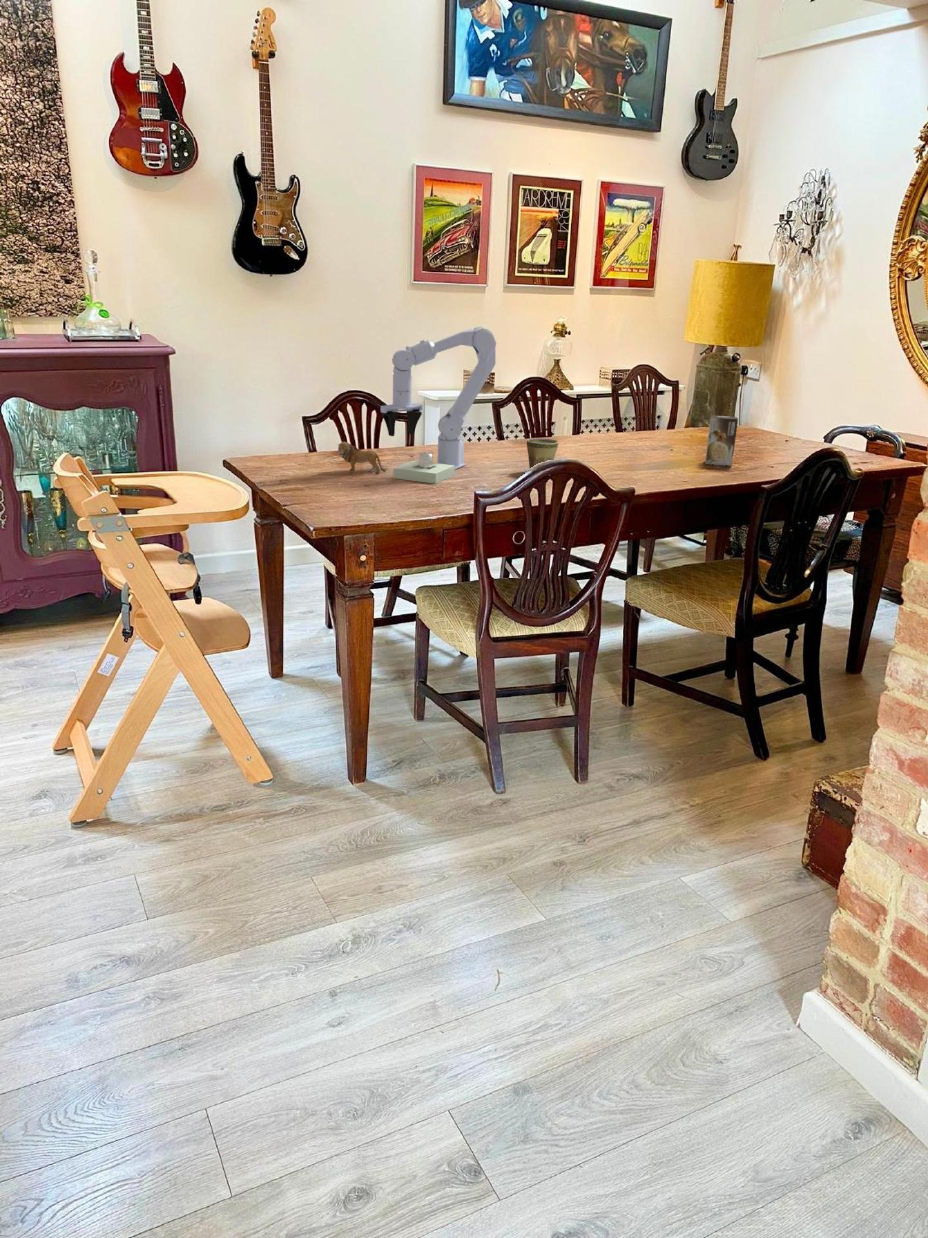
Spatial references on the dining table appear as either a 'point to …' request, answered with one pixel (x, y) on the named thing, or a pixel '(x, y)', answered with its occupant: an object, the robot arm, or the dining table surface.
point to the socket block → (424, 472)
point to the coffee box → (721, 440)
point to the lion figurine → (358, 456)
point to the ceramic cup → (541, 450)
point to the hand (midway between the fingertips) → (401, 434)
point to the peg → (425, 460)
